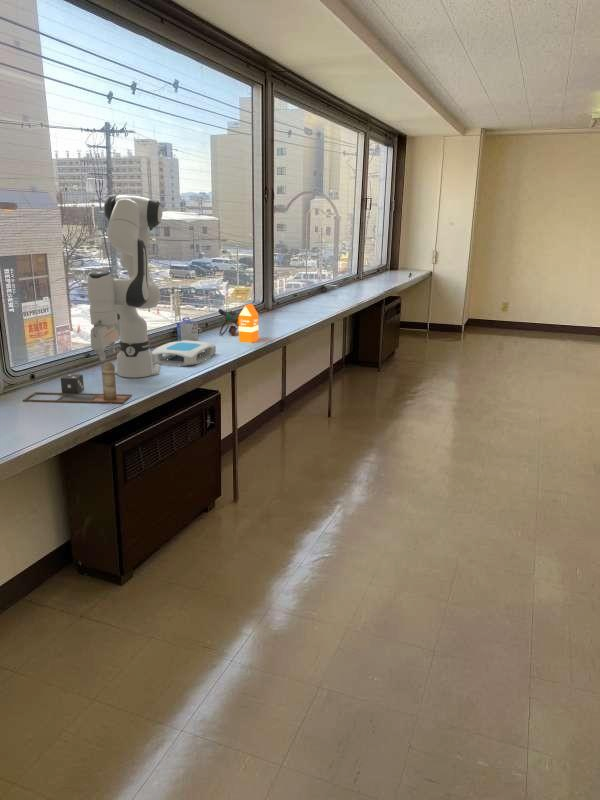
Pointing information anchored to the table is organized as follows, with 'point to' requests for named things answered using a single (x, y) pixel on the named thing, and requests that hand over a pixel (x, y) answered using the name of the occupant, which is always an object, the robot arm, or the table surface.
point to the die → (72, 383)
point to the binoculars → (231, 319)
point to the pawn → (108, 381)
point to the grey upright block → (187, 330)
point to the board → (82, 398)
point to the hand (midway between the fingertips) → (107, 356)
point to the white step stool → (184, 352)
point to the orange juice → (248, 324)
